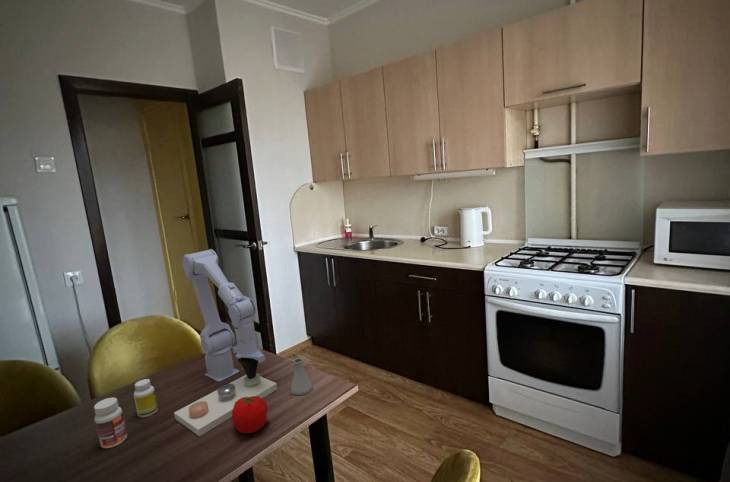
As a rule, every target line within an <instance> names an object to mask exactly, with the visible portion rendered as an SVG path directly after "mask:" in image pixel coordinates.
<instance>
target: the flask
mask: <svg viewBox="0 0 730 482" xmlns="http://www.w3.org/2000/svg"><path fill="white" fill-rule="evenodd" d="M303 363H304V358H303V357H296V358H294V359H293V360H292V364H293V365H294V369H293V376H292V381H291V384H290V385H291V386H290V395H294V396H302V395H307V394H309V393H310V392H311V391H312V390H313V383H312V381H311V379H310V378H309V376H308V374H307V372H306V370H305V368H304V364H303Z"/></svg>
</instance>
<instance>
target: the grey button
mask: <svg viewBox="0 0 730 482" xmlns="http://www.w3.org/2000/svg"><path fill="white" fill-rule="evenodd" d="M216 390H217V391H218V397H219V398H228V397H230V396H232V395H234V394H235V392H236V390H235V385H234V384H229V383H225V384H223V385H221V386H219V387H218V388H217V389H216Z"/></svg>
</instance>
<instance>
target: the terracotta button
mask: <svg viewBox="0 0 730 482" xmlns="http://www.w3.org/2000/svg"><path fill="white" fill-rule="evenodd" d="M207 412H208V403H207V402H205V401H201V402H197V403H194V404H193V405H191V406H190V407H189V415H190V417H193V418H195V417H200V416H202V415H204V414H206V413H207Z"/></svg>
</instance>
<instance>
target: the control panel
mask: <svg viewBox="0 0 730 482" xmlns="http://www.w3.org/2000/svg"><path fill="white" fill-rule="evenodd" d="M246 376H247V375H246V374H245V375H243V376H241V377H239V378H236V379H235V380H233V381H231V382H229V383H228V384H234V385H235V390H236V392H235V394H234V395H232V396H230V397H228V398H219V397H218V391H217V390H218V389H216V390H215V391H212V392H210V393H209V394H207V395H204V396H203V397H201V398H199V399H198V400H196V401H194V402H192V403H189V404H188V405H186V406H184V407H182V408H179V409H178V410H176V411H174V412H173V414H174V419H175V420H176V421H177V422H178V423H180V424H181V425H183V426H184V427H186V428H187V429H189V431H191V432H192V433H194V434H195V435H197V436H198V437H201V436H203V435H205V434H206V433H208V432H209V431H212V430H213V429H214V428H217V426H219V425H222V423H224V422H226V421H227V420H230V418H231V419H232V410H233V407H234V404H235V402H236V401H237V400H239V399H241V397H242V398H243V397H252V396H259V397H260V398H262V399H264V398H265V397H267V396H268V395H270V394H272V393H273V392H275V391H277V390H278V384H277V382H274V381H272V380H269V379H268V378H265V377H264V376H261V375H260V378H261V382H260V383H259V384H257V385H255V386H250V387H248V386H245V383H244V378H245V377H246ZM201 401H205V402H207V403H208V412H207V413H206V414H204V415H202V416H200V417H195V418H193V417H190V415H189V407H190V406H191V405H193V404H194V403H197V402H201Z"/></svg>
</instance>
